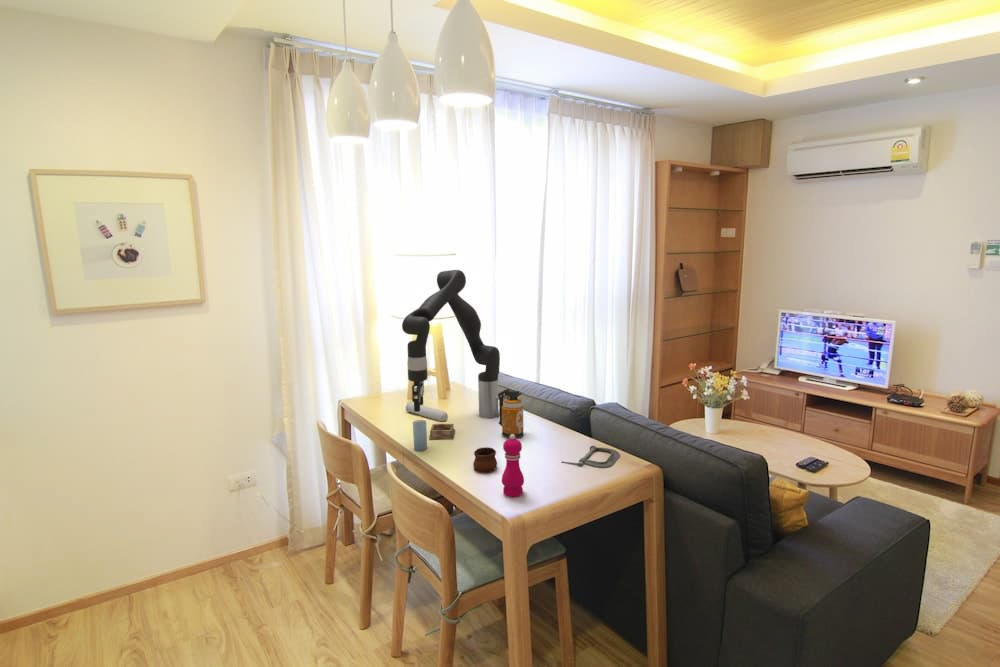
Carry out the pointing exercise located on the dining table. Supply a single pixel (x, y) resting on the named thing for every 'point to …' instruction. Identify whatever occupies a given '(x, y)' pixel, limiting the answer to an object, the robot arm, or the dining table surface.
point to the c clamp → (606, 464)
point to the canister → (511, 413)
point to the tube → (428, 412)
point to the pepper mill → (512, 468)
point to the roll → (420, 435)
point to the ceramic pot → (485, 460)
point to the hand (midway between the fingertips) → (418, 408)
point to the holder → (442, 432)
